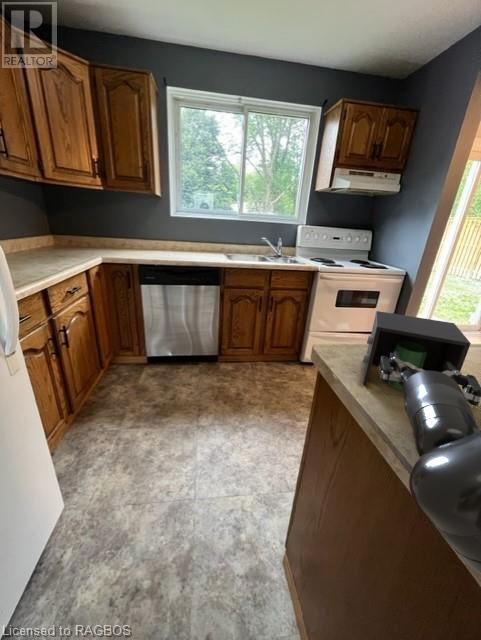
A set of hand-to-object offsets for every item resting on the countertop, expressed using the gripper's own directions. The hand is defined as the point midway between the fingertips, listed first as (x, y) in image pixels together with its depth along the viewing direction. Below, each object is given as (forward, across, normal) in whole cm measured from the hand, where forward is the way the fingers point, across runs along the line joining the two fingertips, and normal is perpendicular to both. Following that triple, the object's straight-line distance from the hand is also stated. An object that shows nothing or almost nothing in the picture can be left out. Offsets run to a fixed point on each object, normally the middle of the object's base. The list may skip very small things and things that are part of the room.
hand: (419, 360), depth 53 cm
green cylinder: (+10, 0, +11) cm, 15 cm away
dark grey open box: (+11, 0, +11) cm, 16 cm away
